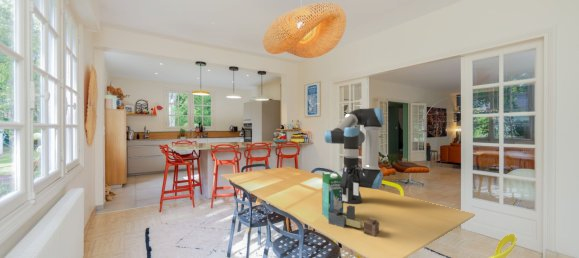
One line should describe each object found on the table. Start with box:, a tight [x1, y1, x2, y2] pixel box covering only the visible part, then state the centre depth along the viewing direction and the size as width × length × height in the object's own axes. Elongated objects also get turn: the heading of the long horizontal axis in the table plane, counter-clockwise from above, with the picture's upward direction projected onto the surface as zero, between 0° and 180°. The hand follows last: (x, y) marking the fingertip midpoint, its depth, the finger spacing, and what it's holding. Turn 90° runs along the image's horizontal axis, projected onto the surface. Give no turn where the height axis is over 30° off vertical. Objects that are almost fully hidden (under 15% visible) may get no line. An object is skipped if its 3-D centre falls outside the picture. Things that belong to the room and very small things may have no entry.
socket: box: [363, 217, 380, 237], centre depth 117 cm, size 6×5×6 cm
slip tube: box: [338, 205, 364, 229], centre depth 125 cm, size 3×17×9 cm, turn 52°
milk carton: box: [321, 171, 344, 221], centre depth 138 cm, size 9×9×25 cm
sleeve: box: [328, 209, 348, 228], centre depth 128 cm, size 6×9×6 cm
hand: (350, 198), depth 123 cm, fingers open, 13 cm apart
